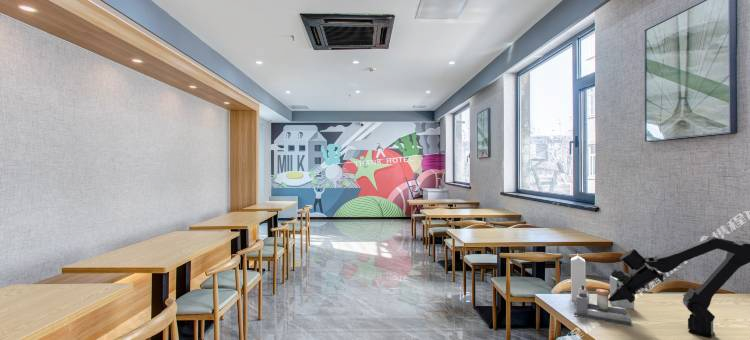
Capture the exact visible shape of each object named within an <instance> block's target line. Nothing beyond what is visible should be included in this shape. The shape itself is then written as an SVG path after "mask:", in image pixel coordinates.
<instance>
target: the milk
mask: <svg viewBox="0 0 750 340" xmlns="http://www.w3.org/2000/svg"><path fill="white" fill-rule="evenodd" d="M586 269H587V268H586V260H585V259H584V258H583V257H581V256H580V255H579V254H577V255H575V256H573V257H571V258H570V286H571V287H570V292H571V293H570V297H571V301H574V302H575V301H576V302H577V295H578V292H579V288H582V285H584V289H586V288H587V284H586V283H587V282H586Z"/></svg>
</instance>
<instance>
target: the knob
mask: <svg viewBox="0 0 750 340" xmlns="http://www.w3.org/2000/svg"><path fill="white" fill-rule="evenodd" d="M595 293H596V304H597V311H603V312H609V308H608V306H609V300H608V299H609V296H610V290H608V289H603V288H597V289H595Z"/></svg>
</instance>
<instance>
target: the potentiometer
mask: <svg viewBox="0 0 750 340" xmlns="http://www.w3.org/2000/svg"><path fill="white" fill-rule="evenodd" d="M587 292H588V289H584V285H582V288H579V295H581V296H587Z"/></svg>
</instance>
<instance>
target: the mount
mask: <svg viewBox="0 0 750 340" xmlns="http://www.w3.org/2000/svg"><path fill="white" fill-rule="evenodd" d="M608 308H609V312H603V311H597V303H592V302H590V292H588V291H587V296H581V295H579V292H578V295H577V301H576V306H575V309H574V311H573V316H574V315H577V316H576V317H579V316H581V317H580V318H584V317H586V318H587V319H591V320H595V321H602V322H606V323H607V322H608V323H612V324H618V325H623V326H629V327H631V326H632V317H631V314H630V313H627V308H619V307H616V306H614V305H613V306H612V305H608Z"/></svg>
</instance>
